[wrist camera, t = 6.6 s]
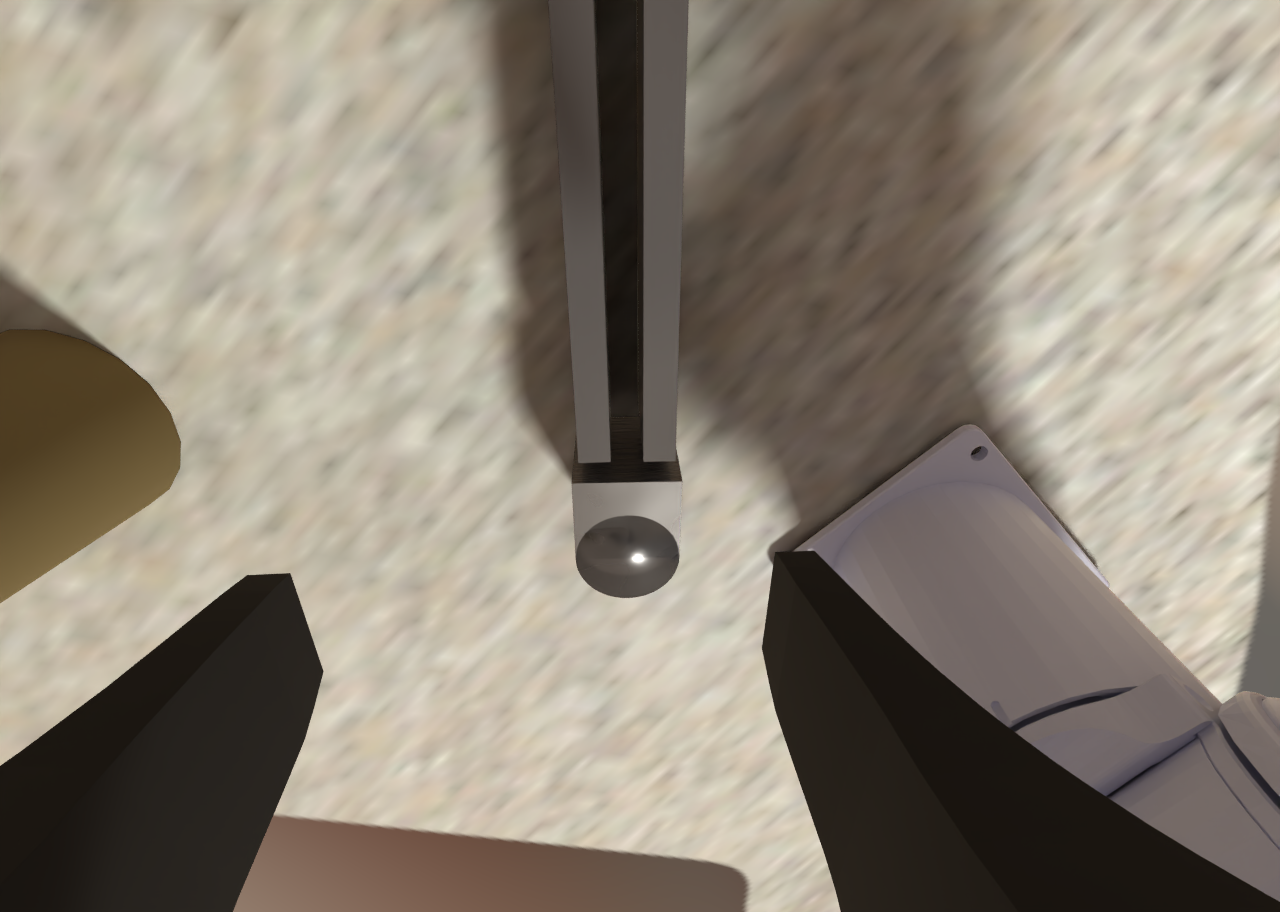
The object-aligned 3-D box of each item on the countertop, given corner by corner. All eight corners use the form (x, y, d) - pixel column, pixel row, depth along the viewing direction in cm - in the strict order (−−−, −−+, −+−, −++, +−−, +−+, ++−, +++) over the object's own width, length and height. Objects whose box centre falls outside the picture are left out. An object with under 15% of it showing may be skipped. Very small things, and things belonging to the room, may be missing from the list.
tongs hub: (667, 519, 22) (677, 596, 19) (582, 521, 22) (577, 598, 19) (670, 415, 20) (682, 481, 17) (577, 417, 20) (571, 483, 17)
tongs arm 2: (616, 401, 20) (618, 463, 17) (576, 402, 20) (570, 465, 17) (588, -508, 11) (581, -736, 8) (518, -509, 11) (483, -739, 8)
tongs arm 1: (671, 400, 20) (683, 462, 17) (630, 401, 20) (635, 464, 17) (693, -503, 12) (725, -728, 8) (623, -505, 11) (628, -732, 8)
